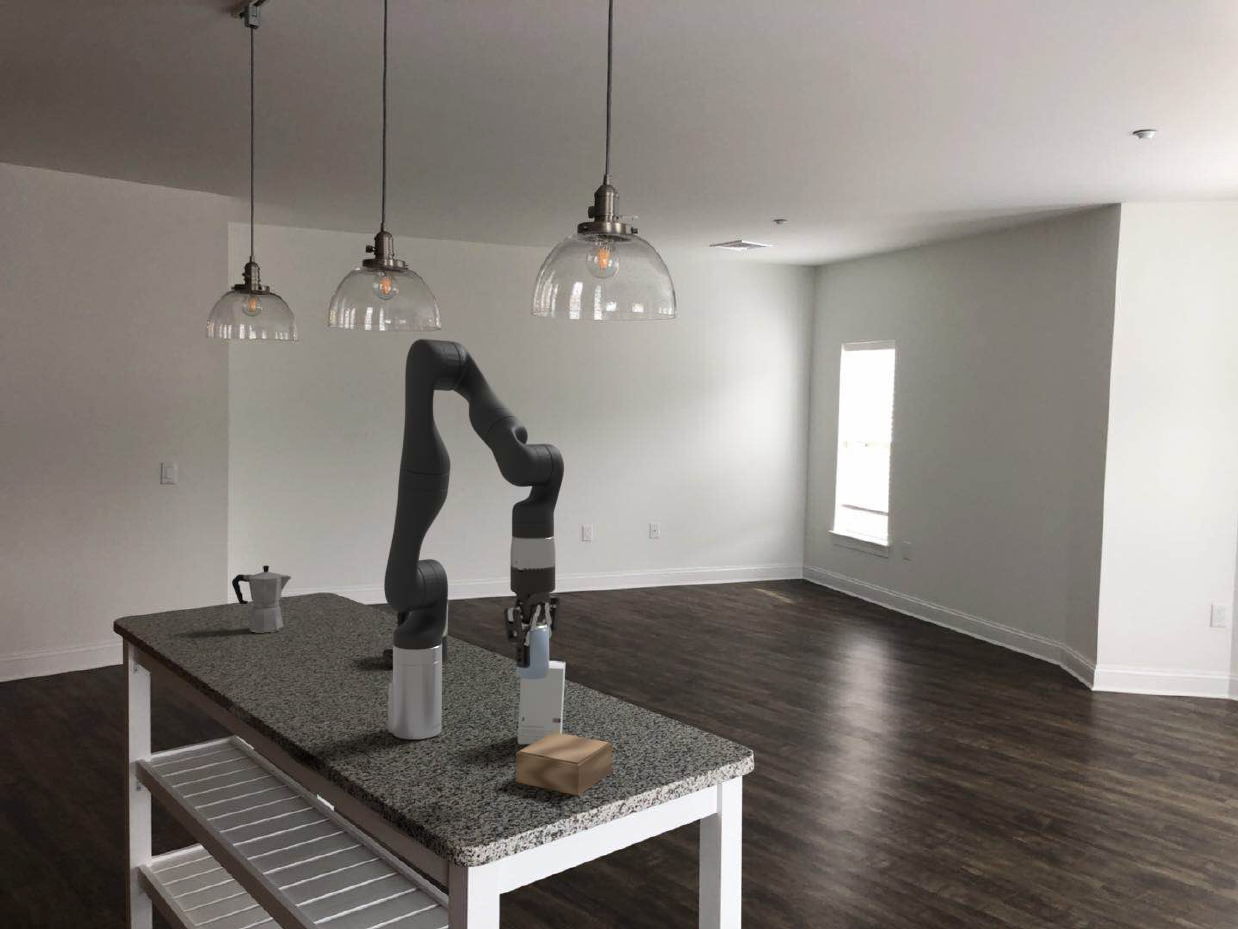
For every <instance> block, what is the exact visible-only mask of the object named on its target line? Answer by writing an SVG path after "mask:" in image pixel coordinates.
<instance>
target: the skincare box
mask: <svg viewBox="0 0 1238 929" xmlns="http://www.w3.org/2000/svg"><path fill="white" fill-rule="evenodd" d="M565 678H566V661H558V660H549V676H547V677H545V678H540V679H524V678H520V685H519V686H520V688H519V689H520V690H519V708H518V710H519V711H518V726H517V743H518V745H531V744H533V743H534V742H536V741H538V740H540V739H541V738H543V737H545V736H547V735H548V734H550V733H552V732H556V733H561V734H563V717H564V702H565V701H564V697H565V695H564V694H565V682H566V681H565Z"/></svg>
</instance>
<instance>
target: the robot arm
mask: <svg viewBox="0 0 1238 929" xmlns="http://www.w3.org/2000/svg"><path fill="white" fill-rule="evenodd" d="M404 373H405V375H404V378H405V379H404V387H405V389H404V395H405V396H404V402H405V403H404V428H403V439H402V448H401V449H402V450H401V458H400V464H399V476H398V482H397V483H398V485H397V486H398V487H397V500H396V509H395V516H394V517H395V518H394V525H393V526H394V527H393V532H392V538H391V542H390V548H389V554H388V559H387V564H386V568H385V573H384V574H385V575H384V585H383V589H384V597H385V601H386V602H387V604H388V606H389V608H390V609H392V610H393V611H394V612H397V613H398V612H405V611H412V610H413V612H411V615H409V618H408V619H407V620H406V621H405V622H404V623H403V624H402V625H400V626H399V627H398V626H397V627H396V628H395V629H394V631H393V634H392V635H393V636H392V644H393V646H392V650H393V664H392V682H390V683H388V709H387V710H388V717H387V718H388V722H387V723H388V731H387V733H390V734H392V735H393V736H395V737H396V738H399V739H404V740H425V739H429V738H433V737H436V736H438V735H439V734H441V733H442V721H443V720H442V717H443V716H442V713H443V712H442V709H443V708H442V707H443V705H442V704H443V702H442V701H443V700H442V699H443V698H442V695H443V693H442V692H443V687H442V686H443V661H442V636H443V633H444V631H445V627H446V617H447V601H448V600H449V598H448V597H449V584H448V583H449V582H448V577H447V572H446V570H445V568H444V566H443V565H442V563H440V561H438V560H436V559H432V558H431V559H429V558H428V559H420V554H421V550H422V545H423V542H424V539H425V537H426V534H427V533H428V531H429V529H430V528H431V527H432V524H433V523H434V522H435V520H436V518H437V517H438V516H439V513H440V512H441V510H442V508H443V506H444V505H445V502H446V500H447V498H448V497H447V496H448V494H449V493H448V492H449V486H450V484H449V483H450V478H451V477H450V476H451V460H450V459H451V458H450V454H449V452H448V449H447V447H446V445H445V443H444V440H443V438H442V436H441V434H440V433H439V430H438V427H437V424H436V421H435V416H434V396H435V395H434V394H435V391H444V392H445V391H446V392H449V391H454V392H455V393H457V394H458V395H459V396H461V397H462V398H463V399H465V400H466V402H467V403H468V417H469V422H470V425H471V427H472V429H473V431H474V432H475V433H476V434H477V436H478V437H479V438H480V439H481V440H482V441H483V443H484V444H485V445H486V446H487V447H488V448H489V449H490V451H491V453H492V454H493V457H494V460H495V462H496V465H497V466H498V469H499V472H500V474H501V476H502V477H503V479H504V480H505V481H507V482H508V483H509V484H511V485H513V486H515V487H517V488H518V487H519V488H521V487H522V488H523V487H531V488H530V492H529V494H528V496H527V497H526V498H525V499H523V500H519V501H517V502H516V503H514V505H513V506H512V510H511V511H512V512H511V544H510V552H509V554H510V558H509V559H510V568H509V570H510V571H509V572H510V575H509V576H510V578H509V579H510V583H509V585H510V591H511V592H512V593H514V594H515V595H516V597H515V602H514V606H512V607H508V608H507V607H506V608H504V610H503V617H504V625H505V633H506V640H507V643H508V644H513V645H514V646H515V662H516V668H517V667H520V668H528V667H529V666H530V645H529V643H530V638H531V633H532V632H534V631H535V627H536V624H537V623H542V624H547V626H548V627H549V639H550V638H551V637H552V635H553V634H552V633H556V632H557V631H558V624H559V614H560V605H561V597H559V596H551V595H550V593H553V592H554V591H556V545H555V517H554V516H555V515H554V514H555V509H556V506H557V502H558V498H559V494H560V490H561V487H562V483H563V479H564V472H565V463H564V458H563V456H562V453H561V452H560V450H559V449H558V448H557V446H555V445H553V444H551V443H550V444H549V443H536V444H535V443H532V444H531V443H528V442H527V441H528V438H529V434H528V431H527V428H526V426H525V425H524V424H523V422H521V420H519V418H517V416H516V415H515V414H514V413H513V412H512V411H511V409H510V408H508V406H506V405H505V404H504V403H503V401H502V400H501V399H500V398H499V396H498V395H497V394H496V392H495V391H494V390H493V387H492V386H491V385H490V383H489V381H488V379H487V378H486V376H485V374H484V373H483V371H482V370H481V368H480V366H479V365H478V363H477V362H476V360H475V358H474V357H473V355H472V354H471V352H470V351H469V349H467V348H466V347H465V346H464V345H463V344H462V343H460V342H457V341H450V340H439V339H428V338H427V339H426V338H419V339H417V340H415V341H414V342H413V343H412V344H411V345H410V346H409V349H408V353H407V356H406V361H405V372H404ZM527 443H528V444H527ZM522 623H523V624H526V625H528V626H522ZM523 631H525V636H524V638H523Z"/></svg>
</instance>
